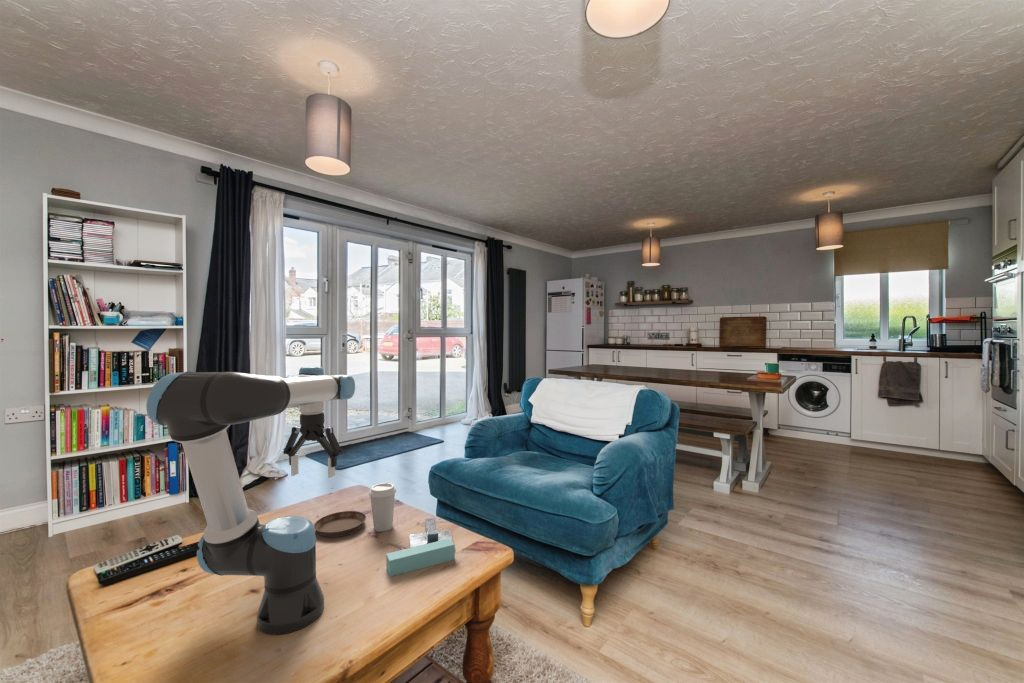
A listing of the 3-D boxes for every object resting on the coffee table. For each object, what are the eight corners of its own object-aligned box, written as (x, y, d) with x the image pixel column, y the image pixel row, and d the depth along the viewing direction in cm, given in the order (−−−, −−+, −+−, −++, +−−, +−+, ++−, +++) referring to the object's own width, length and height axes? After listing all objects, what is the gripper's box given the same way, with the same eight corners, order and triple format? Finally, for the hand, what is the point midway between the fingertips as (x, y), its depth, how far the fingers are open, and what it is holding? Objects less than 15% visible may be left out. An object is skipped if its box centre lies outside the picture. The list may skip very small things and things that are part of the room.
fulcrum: (455, 550, 140) (454, 532, 140) (410, 557, 137) (410, 538, 137) (450, 531, 154) (449, 514, 154) (409, 536, 150) (409, 519, 150)
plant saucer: (304, 531, 156) (303, 523, 155) (347, 514, 170) (347, 506, 170) (332, 545, 145) (332, 536, 145) (376, 525, 160) (376, 517, 160)
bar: (454, 560, 135) (454, 544, 135) (389, 577, 126) (389, 560, 126) (450, 553, 139) (449, 538, 139) (386, 570, 130) (386, 553, 130)
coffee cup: (402, 525, 159) (401, 485, 159) (381, 536, 151) (381, 493, 151) (384, 519, 164) (383, 480, 164) (363, 529, 156) (363, 488, 156)
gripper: (352, 411, 147) (353, 473, 147) (286, 410, 151) (287, 470, 152) (340, 415, 140) (340, 480, 140) (271, 413, 144) (272, 477, 144)
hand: (313, 475), depth 146 cm, fingers open, 13 cm apart
